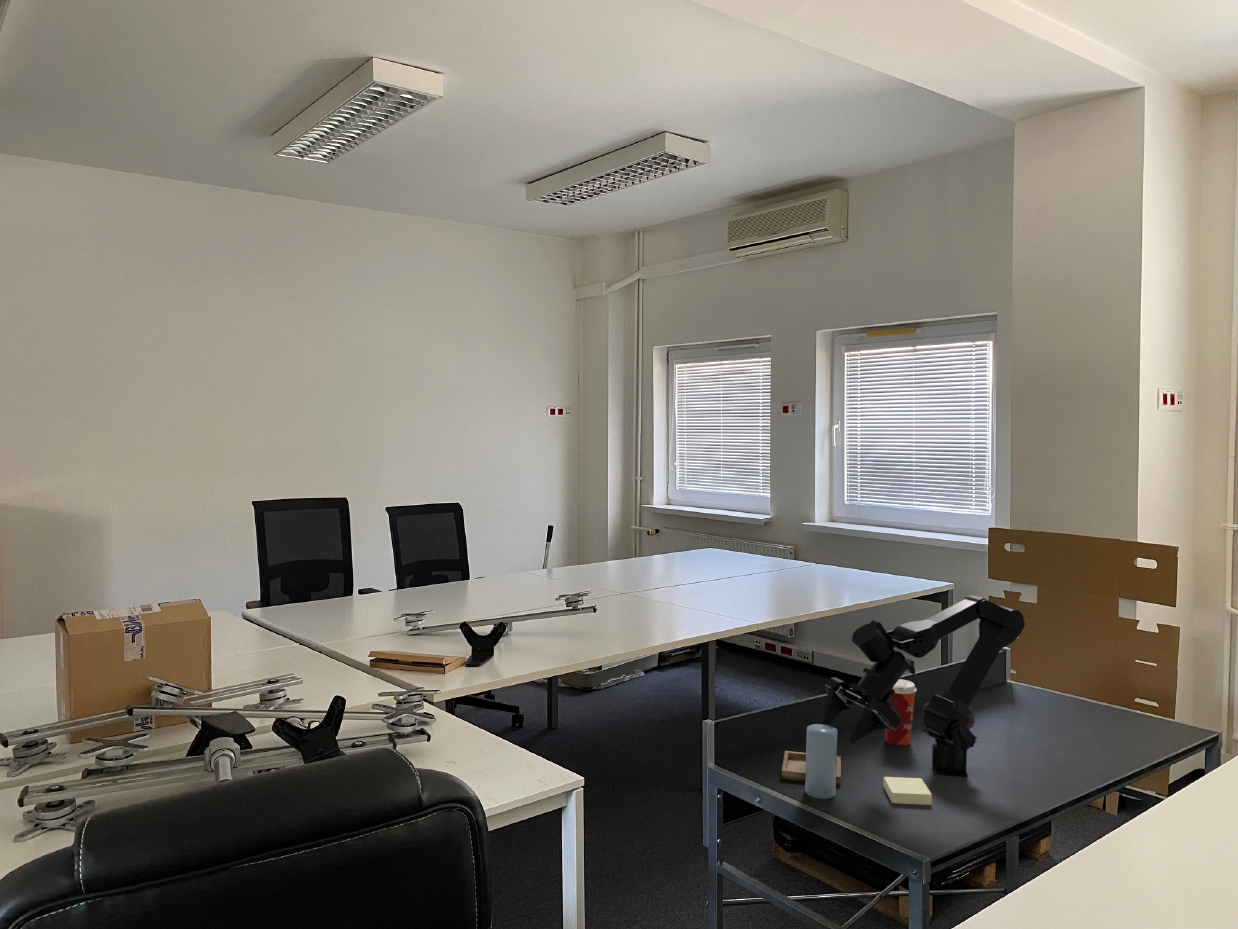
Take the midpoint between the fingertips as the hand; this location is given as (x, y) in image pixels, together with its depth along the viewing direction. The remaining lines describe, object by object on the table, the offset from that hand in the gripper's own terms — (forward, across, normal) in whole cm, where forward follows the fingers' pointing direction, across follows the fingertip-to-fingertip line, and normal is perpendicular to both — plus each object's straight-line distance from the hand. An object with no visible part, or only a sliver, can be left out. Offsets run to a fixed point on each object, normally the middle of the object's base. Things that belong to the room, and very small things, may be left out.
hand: (836, 734), depth 175 cm
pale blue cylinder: (+11, 0, -6) cm, 12 cm away
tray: (+8, +9, -9) cm, 15 cm away
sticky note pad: (0, -7, -17) cm, 19 cm away
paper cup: (-13, +17, -29) cm, 36 cm away
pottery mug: (-25, +19, -41) cm, 52 cm away
